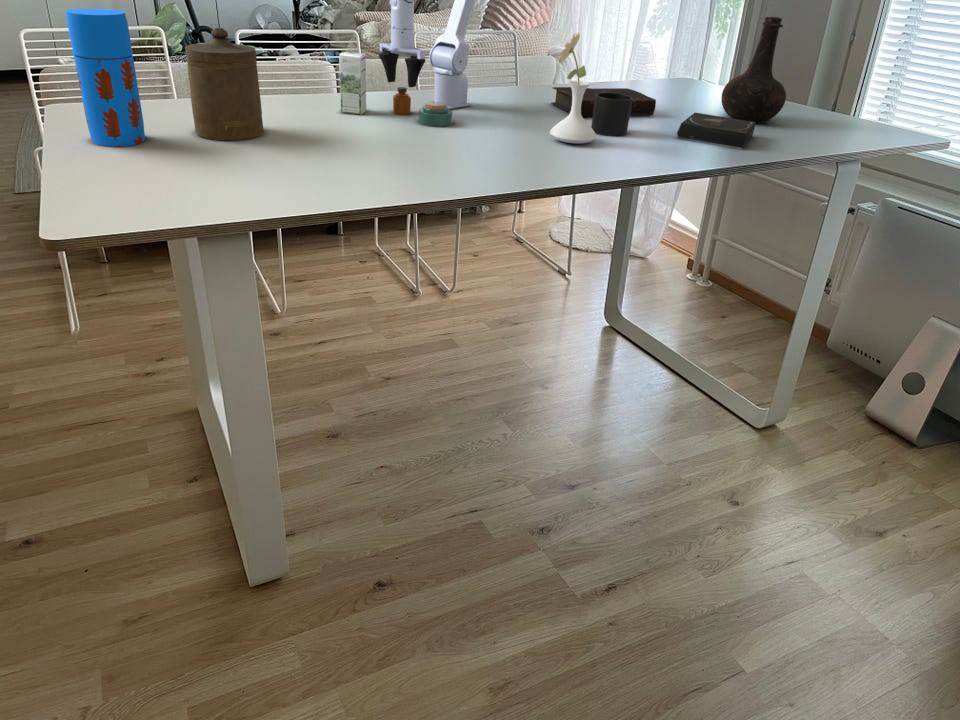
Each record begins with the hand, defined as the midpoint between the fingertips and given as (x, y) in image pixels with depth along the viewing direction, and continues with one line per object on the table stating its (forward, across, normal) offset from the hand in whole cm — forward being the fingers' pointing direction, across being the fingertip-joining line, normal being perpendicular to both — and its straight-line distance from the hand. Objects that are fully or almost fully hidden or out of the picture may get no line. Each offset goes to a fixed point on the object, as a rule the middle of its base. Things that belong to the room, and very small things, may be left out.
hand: (401, 84), depth 195 cm
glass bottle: (+7, +65, +80) cm, 103 cm away
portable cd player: (+7, +68, +49) cm, 84 cm away
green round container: (+7, +13, -1) cm, 15 cm away
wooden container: (+8, -8, -48) cm, 49 cm away
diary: (+7, +31, +52) cm, 61 cm away
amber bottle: (+7, 0, 0) cm, 7 cm away
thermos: (+8, -16, -70) cm, 72 cm away
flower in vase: (+8, +46, +12) cm, 48 cm away
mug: (+7, +47, +31) cm, 57 cm away
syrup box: (+8, -8, -10) cm, 15 cm away
